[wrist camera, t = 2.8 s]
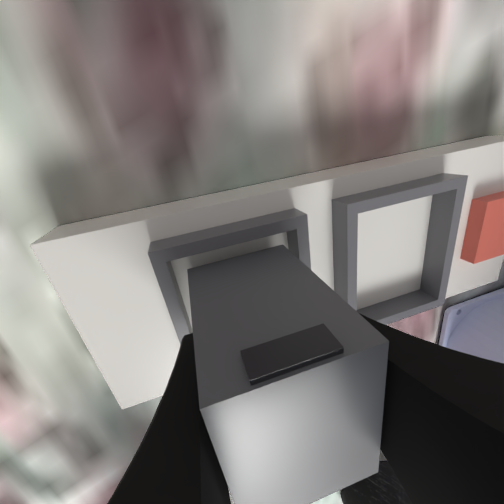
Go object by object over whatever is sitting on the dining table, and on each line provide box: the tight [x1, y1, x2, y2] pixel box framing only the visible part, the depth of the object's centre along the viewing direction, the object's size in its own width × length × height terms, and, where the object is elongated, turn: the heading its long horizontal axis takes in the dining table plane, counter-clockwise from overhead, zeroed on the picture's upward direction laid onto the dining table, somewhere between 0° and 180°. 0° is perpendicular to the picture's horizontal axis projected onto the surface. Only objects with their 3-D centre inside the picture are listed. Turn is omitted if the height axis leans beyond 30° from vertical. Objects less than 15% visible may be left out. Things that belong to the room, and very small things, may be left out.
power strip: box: [30, 135, 504, 409], centre depth 14 cm, size 24×9×4 cm, turn 99°
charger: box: [187, 244, 389, 504], centre depth 9 cm, size 4×5×6 cm
